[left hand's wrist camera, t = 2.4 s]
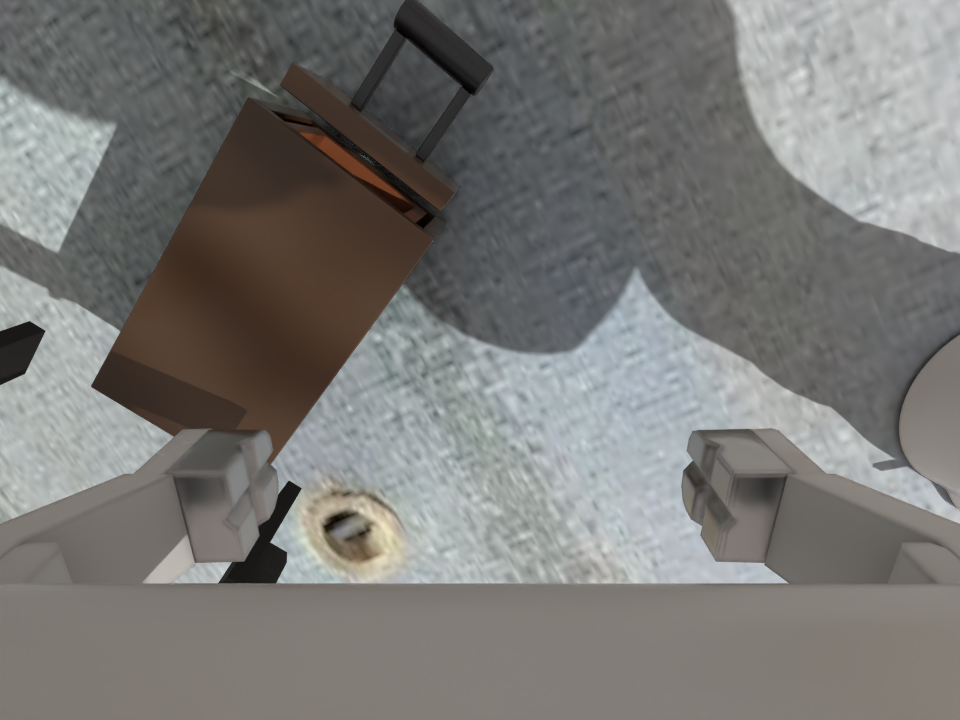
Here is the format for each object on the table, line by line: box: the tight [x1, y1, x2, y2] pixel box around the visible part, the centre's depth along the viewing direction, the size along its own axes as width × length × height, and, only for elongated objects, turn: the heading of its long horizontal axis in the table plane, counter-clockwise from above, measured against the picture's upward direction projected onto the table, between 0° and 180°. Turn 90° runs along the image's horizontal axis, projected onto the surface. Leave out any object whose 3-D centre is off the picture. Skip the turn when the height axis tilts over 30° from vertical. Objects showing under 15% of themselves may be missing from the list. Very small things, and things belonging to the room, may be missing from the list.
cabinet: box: [91, 98, 446, 464], centre depth 32 cm, size 19×11×8 cm, turn 142°
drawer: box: [281, 0, 493, 225], centre depth 30 cm, size 24×10×6 cm, turn 142°
